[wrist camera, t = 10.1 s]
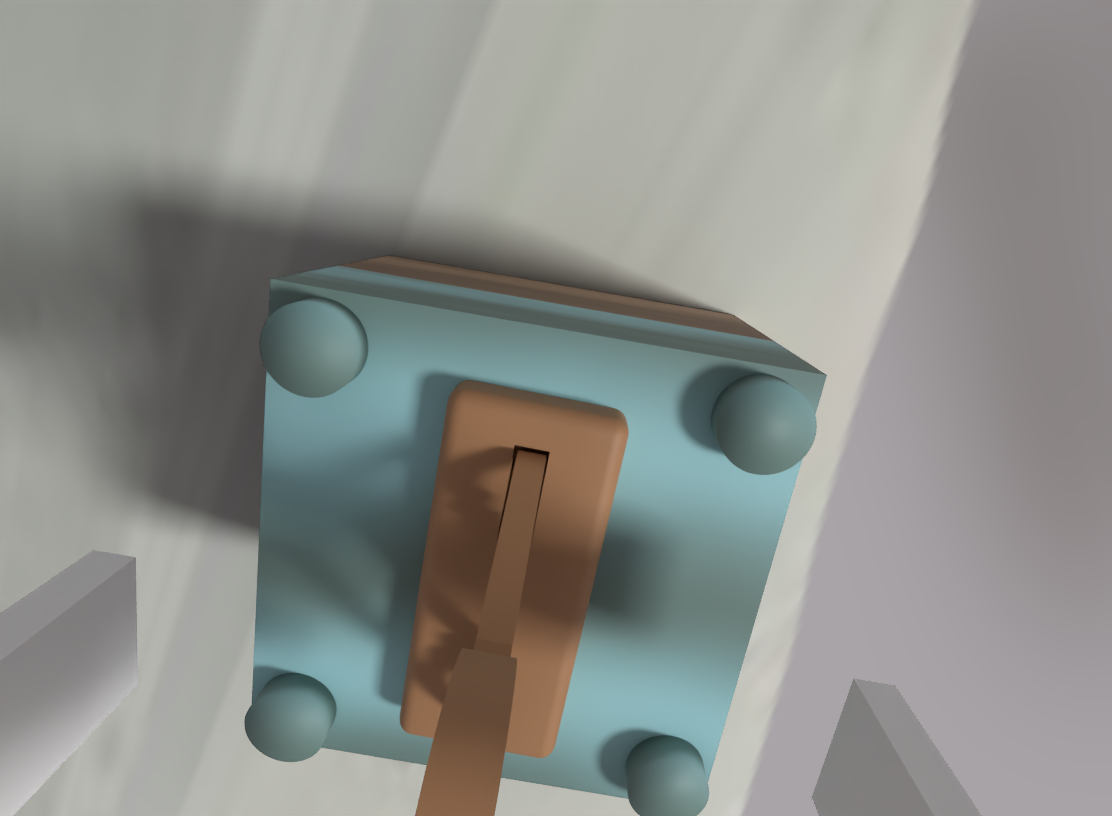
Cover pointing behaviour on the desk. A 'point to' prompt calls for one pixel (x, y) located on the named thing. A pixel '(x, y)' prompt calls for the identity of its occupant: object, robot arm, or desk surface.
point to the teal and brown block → (407, 491)
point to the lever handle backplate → (505, 583)
